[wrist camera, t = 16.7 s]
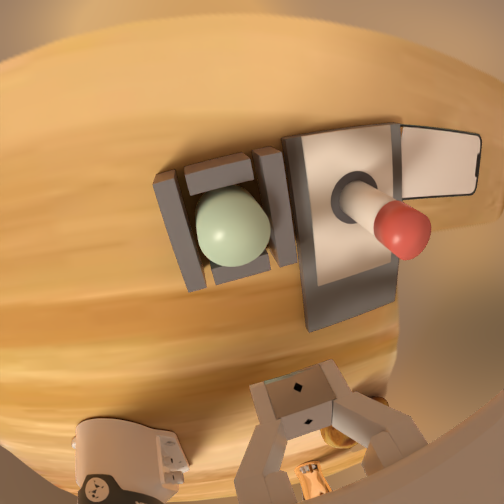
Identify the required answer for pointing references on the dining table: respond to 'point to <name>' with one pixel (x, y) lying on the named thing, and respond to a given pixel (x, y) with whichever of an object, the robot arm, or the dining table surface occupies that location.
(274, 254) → the button base
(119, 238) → the dining table surface
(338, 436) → the bread roll
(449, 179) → the smartphone
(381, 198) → the marker
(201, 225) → the button
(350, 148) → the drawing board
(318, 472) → the beer glass
